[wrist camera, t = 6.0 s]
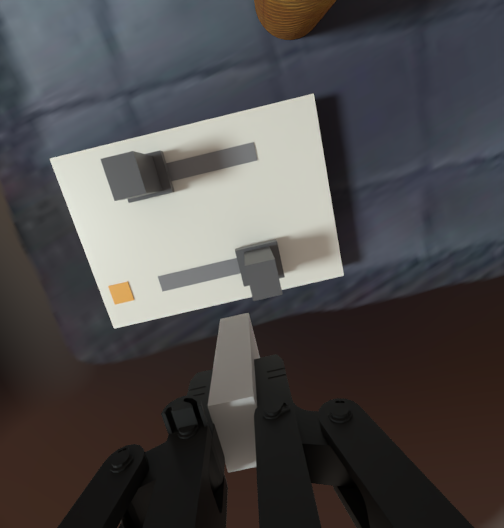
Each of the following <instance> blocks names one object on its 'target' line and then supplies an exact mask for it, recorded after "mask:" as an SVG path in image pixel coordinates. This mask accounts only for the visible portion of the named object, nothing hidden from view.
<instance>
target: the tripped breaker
mask: <svg viewBox="0 0 504 528" xmlns="http://www.w3.org/2000/svg"><path fill="white" fill-rule="evenodd" d="M235 253H236V257H237V261H238V265H239V269H240V273H241V277H242V281H243V285H244V287H245V286H249V285H250V289H251V293H252V297H253V301H256V300H260V299H265V298H269V297H273V296H278V295H282V289H281V285H280V280H279V278H284V277H285V276H284V271H283V267H282V262H281V257H280V253H279V248H278V243H277V240H276V239H274V240H270V241H266V242H262V243H257V244H253V245H249V246H245V247H240V248H236V249H235Z"/></svg>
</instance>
